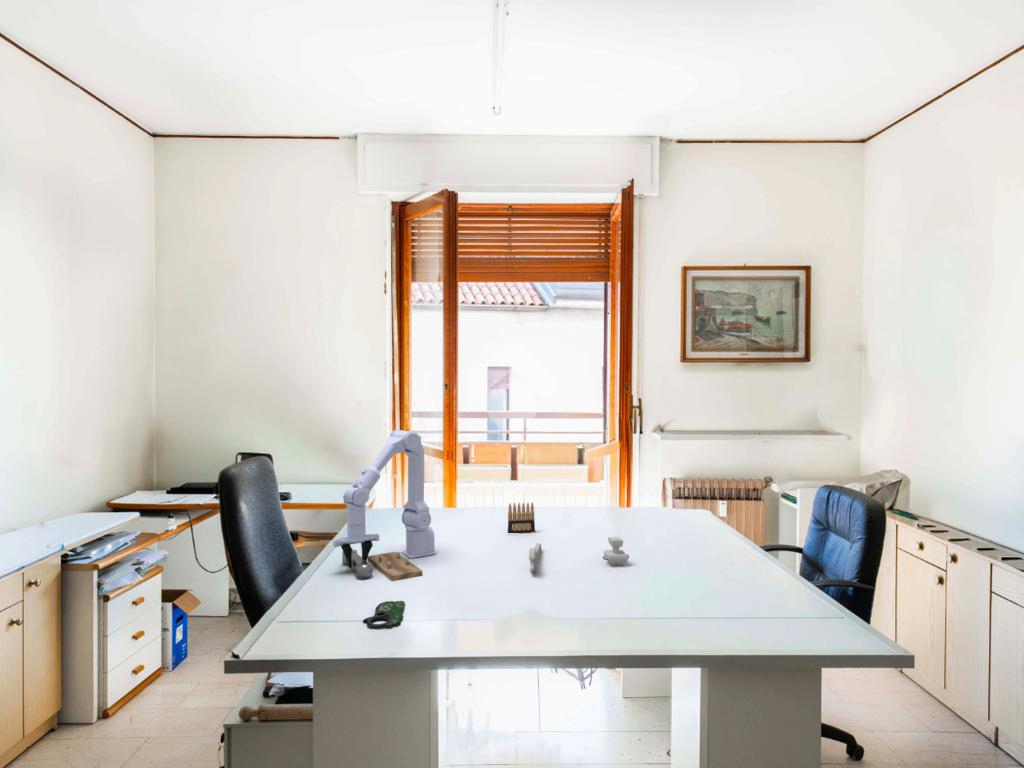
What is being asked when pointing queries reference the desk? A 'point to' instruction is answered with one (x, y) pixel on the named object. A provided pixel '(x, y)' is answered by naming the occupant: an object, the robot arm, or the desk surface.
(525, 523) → the ammunition clip
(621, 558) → the stamp
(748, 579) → the desk surface
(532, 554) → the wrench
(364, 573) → the grey elongated piece
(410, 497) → the robot arm
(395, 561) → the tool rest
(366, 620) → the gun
